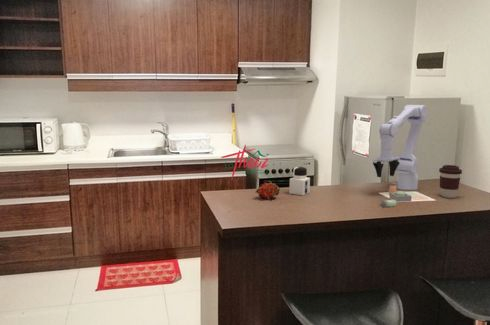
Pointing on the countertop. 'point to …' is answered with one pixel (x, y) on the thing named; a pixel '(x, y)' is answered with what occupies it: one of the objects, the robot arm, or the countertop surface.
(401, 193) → the button
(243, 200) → the countertop surface
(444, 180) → the coffee cup
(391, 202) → the sage marker lying
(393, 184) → the cylinder
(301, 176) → the container
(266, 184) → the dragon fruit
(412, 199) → the white sorting board
